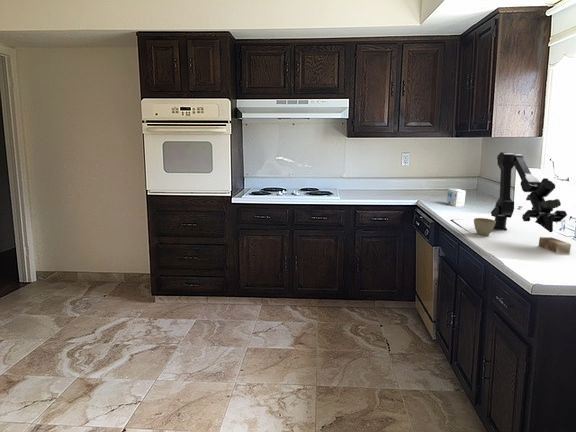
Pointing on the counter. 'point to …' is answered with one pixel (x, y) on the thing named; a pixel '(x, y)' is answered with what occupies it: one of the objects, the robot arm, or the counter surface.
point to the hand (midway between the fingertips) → (551, 231)
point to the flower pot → (484, 225)
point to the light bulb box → (456, 197)
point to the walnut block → (554, 245)
